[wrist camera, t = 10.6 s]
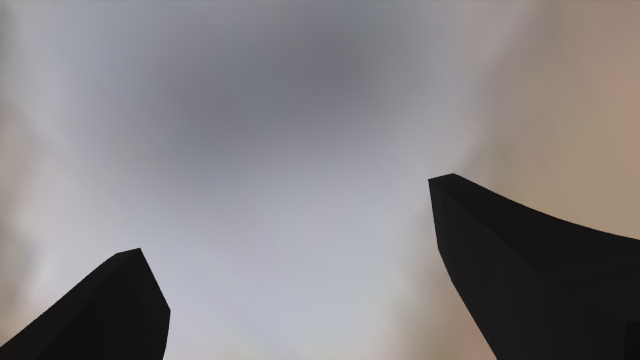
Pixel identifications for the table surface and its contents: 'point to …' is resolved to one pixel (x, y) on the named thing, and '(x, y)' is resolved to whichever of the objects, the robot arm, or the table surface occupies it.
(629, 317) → the robot arm
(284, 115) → the table surface
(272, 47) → the table surface
